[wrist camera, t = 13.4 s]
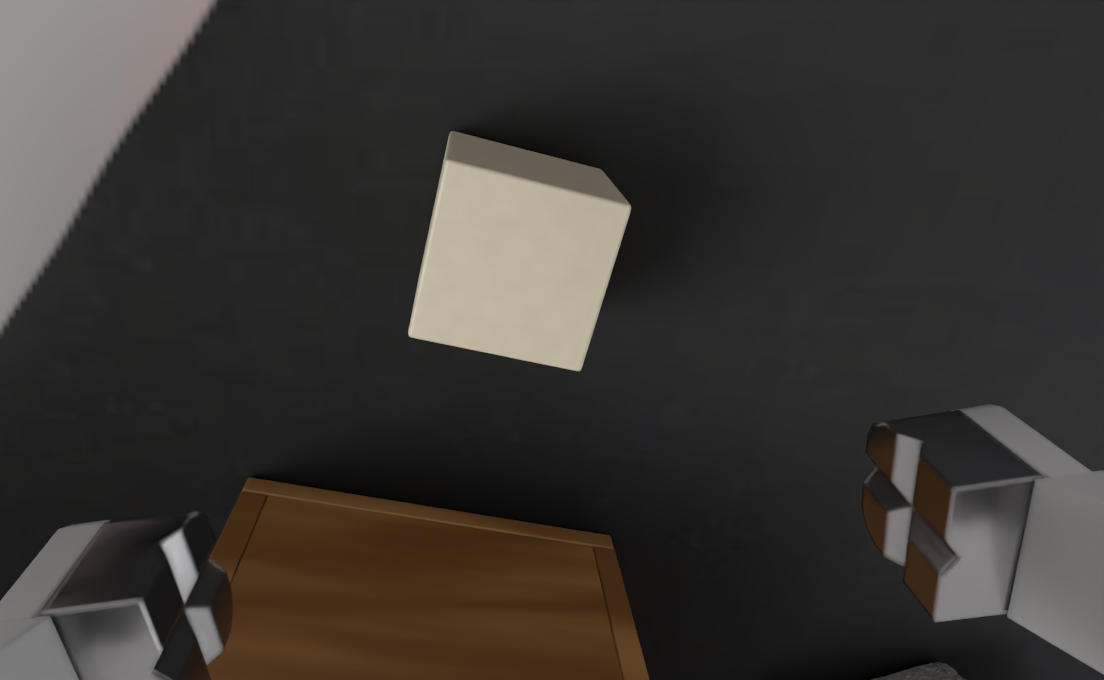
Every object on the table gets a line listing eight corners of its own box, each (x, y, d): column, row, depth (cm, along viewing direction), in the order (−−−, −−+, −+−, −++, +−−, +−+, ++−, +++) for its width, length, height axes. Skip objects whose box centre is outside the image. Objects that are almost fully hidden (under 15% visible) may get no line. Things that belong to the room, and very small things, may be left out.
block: (450, 129, 21) (445, 158, 17) (602, 169, 22) (633, 205, 18) (418, 278, 23) (406, 338, 19) (561, 310, 24) (581, 373, 20)
